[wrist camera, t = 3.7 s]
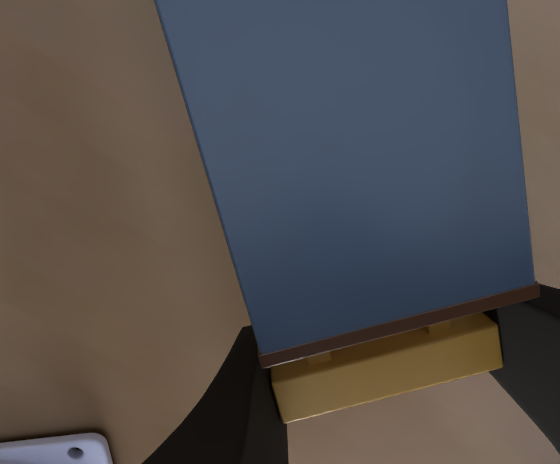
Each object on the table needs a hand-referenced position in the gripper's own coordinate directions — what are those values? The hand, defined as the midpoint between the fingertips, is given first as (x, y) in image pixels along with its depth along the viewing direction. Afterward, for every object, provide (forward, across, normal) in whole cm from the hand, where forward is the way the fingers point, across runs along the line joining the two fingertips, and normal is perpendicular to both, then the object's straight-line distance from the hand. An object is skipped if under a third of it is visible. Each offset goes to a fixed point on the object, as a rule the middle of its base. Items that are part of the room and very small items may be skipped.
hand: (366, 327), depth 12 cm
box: (+2, 0, -5) cm, 5 cm away
